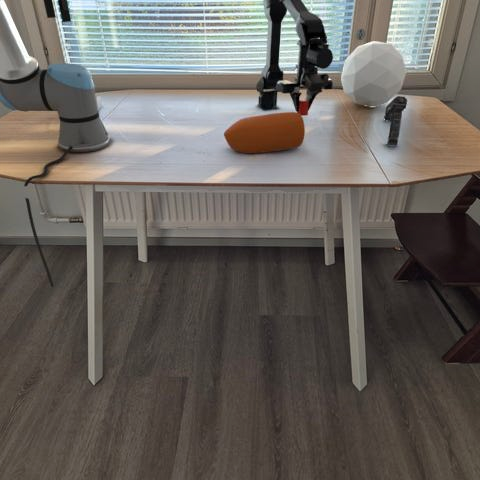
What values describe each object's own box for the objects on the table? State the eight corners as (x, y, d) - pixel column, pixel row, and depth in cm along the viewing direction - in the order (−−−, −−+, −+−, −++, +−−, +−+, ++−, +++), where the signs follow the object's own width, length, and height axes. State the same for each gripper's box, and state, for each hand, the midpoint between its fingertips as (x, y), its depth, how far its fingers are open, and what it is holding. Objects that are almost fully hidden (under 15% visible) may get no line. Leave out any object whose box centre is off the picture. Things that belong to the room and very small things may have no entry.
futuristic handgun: (389, 146, 153) (397, 104, 149) (399, 145, 125) (409, 94, 122) (379, 144, 154) (386, 103, 150) (386, 144, 126) (395, 93, 122)
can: (301, 111, 142) (302, 97, 140) (310, 114, 140) (311, 99, 138) (294, 114, 140) (295, 99, 137) (303, 116, 138) (304, 101, 135)
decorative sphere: (326, 73, 174) (348, 26, 151) (380, 71, 178) (409, 25, 155) (338, 120, 167) (363, 79, 144) (393, 117, 171) (427, 77, 148)
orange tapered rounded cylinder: (228, 162, 123) (308, 151, 124) (223, 128, 117) (309, 117, 118) (224, 147, 133) (299, 137, 134) (220, 115, 127) (299, 104, 128)
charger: (106, 102, 166) (96, 114, 153) (83, 102, 165) (72, 114, 153) (104, 90, 163) (94, 101, 151) (80, 90, 163) (69, 101, 150)
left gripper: (70, -58, 122) (84, 22, 134) (40, -57, 137) (56, 15, 149) (44, -59, 117) (62, 24, 130) (17, -57, 133) (35, 16, 145)
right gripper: (292, 69, 122) (288, 121, 131) (345, 65, 128) (338, 115, 137) (276, 62, 130) (273, 111, 139) (326, 58, 136) (321, 105, 145)
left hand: (59, 19), depth 139 cm, fingers open, 13 cm apart
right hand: (302, 110), depth 140 cm, fingers closed on can, 4 cm apart
